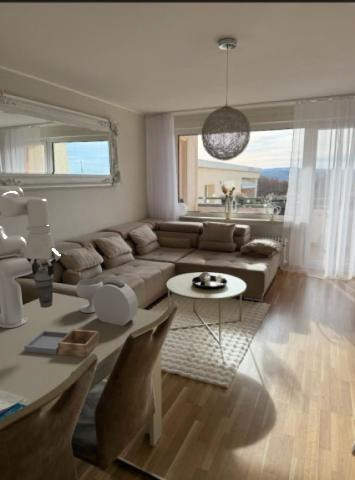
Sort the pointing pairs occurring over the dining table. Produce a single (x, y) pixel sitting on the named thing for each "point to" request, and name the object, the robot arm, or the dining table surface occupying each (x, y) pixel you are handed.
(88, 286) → the chalice
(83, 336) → the holder
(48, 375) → the dining table surface
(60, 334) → the tray
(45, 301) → the beverage cup
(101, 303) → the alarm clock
